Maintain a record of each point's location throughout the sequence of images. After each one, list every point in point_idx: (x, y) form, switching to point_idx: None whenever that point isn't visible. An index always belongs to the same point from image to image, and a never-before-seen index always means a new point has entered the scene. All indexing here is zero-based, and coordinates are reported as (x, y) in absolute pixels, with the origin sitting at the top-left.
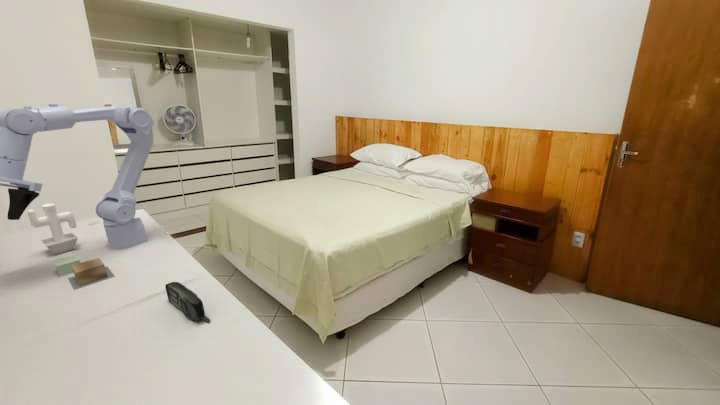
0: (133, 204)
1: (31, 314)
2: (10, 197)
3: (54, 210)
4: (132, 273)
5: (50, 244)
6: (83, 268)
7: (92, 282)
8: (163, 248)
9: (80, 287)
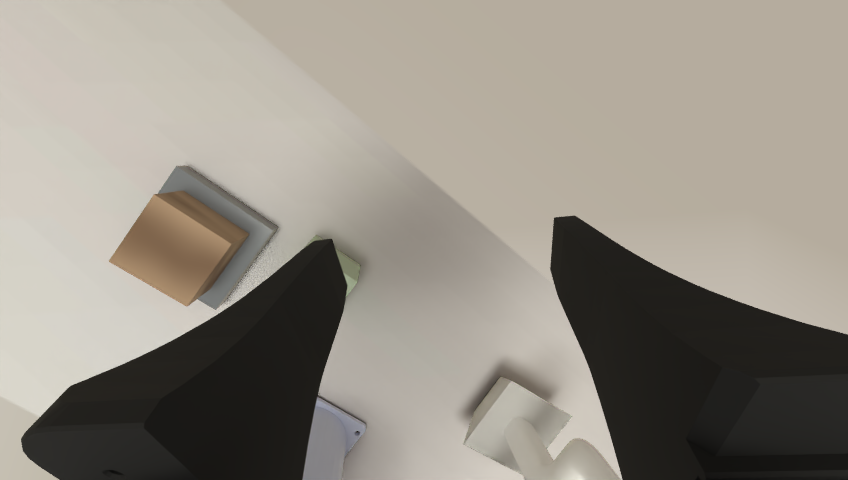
0: None
1: (220, 67)
2: (223, 341)
3: None
4: (125, 296)
5: (510, 394)
6: (159, 227)
7: None
8: None
9: (168, 180)
